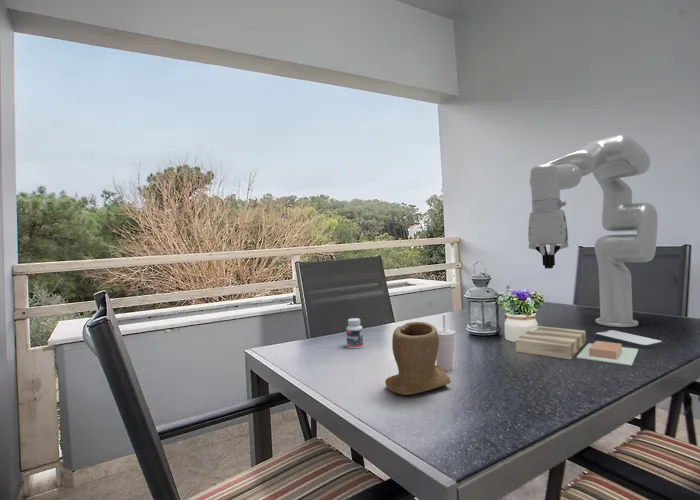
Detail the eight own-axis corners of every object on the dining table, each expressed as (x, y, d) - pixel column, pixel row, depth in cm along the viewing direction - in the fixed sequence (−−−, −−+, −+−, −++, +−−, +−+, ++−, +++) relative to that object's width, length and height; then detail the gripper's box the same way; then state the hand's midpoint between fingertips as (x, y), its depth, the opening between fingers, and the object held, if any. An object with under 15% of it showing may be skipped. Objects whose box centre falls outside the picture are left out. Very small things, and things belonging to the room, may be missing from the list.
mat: (588, 344, 116) (588, 343, 115) (638, 350, 108) (638, 348, 108) (576, 358, 103) (576, 356, 103) (631, 365, 96) (631, 364, 96)
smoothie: (443, 374, 96) (440, 318, 96) (427, 367, 102) (424, 314, 102) (462, 369, 99) (460, 315, 99) (445, 363, 105) (443, 311, 105)
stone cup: (405, 405, 80) (402, 333, 79) (379, 386, 91) (376, 322, 90) (465, 391, 85) (462, 323, 85) (434, 375, 96) (431, 315, 96)
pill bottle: (344, 348, 125) (343, 320, 124) (350, 344, 129) (349, 317, 129) (360, 349, 123) (358, 321, 122) (365, 344, 127) (364, 318, 127)
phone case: (666, 346, 111) (611, 334, 126) (666, 341, 111) (611, 329, 126) (645, 351, 108) (592, 338, 123) (645, 345, 108) (591, 332, 123)
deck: (536, 336, 127) (536, 325, 127) (585, 342, 118) (585, 330, 118) (515, 351, 112) (515, 339, 112) (570, 359, 103) (570, 346, 103)
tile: (621, 343, 106) (621, 351, 107) (596, 340, 111) (596, 347, 111) (615, 351, 100) (616, 359, 100) (589, 348, 104) (589, 355, 104)
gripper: (577, 204, 114) (580, 266, 114) (523, 209, 123) (526, 266, 124) (571, 203, 108) (575, 269, 108) (516, 209, 117) (519, 269, 118)
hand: (549, 268), depth 116 cm, fingers closed
